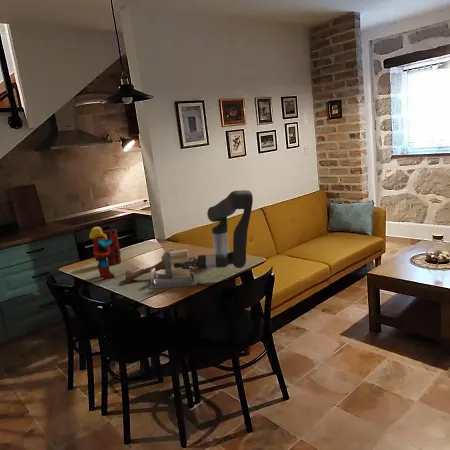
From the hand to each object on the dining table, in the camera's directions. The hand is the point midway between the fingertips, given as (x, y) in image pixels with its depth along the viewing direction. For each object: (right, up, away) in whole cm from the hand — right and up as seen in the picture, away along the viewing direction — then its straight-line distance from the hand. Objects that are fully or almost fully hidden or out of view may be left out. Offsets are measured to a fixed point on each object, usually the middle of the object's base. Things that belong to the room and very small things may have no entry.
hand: (175, 264), depth 212 cm
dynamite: (-45, -4, +49) cm, 66 cm away
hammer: (-13, -9, +14) cm, 21 cm away
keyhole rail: (0, -10, +2) cm, 10 cm away
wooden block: (+4, -9, +2) cm, 9 cm away
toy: (-40, -10, +22) cm, 47 cm away
